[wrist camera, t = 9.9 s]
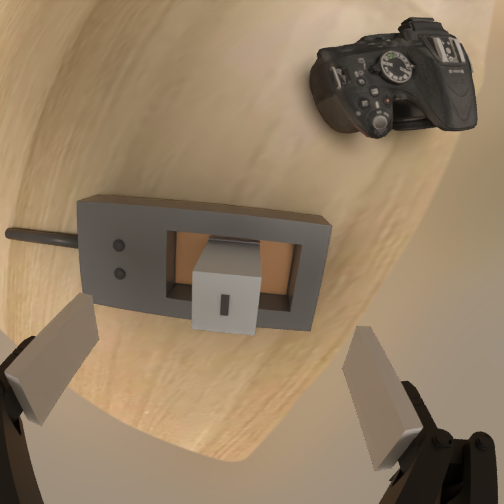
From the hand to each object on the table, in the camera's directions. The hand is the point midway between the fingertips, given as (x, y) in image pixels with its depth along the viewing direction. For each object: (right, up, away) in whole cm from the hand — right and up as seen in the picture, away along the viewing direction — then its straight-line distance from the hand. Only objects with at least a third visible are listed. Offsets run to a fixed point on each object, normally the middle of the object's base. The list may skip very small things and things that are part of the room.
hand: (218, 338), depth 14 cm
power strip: (-9, +5, +12) cm, 16 cm away
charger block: (0, +3, +12) cm, 12 cm away
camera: (+13, +18, +8) cm, 24 cm away
